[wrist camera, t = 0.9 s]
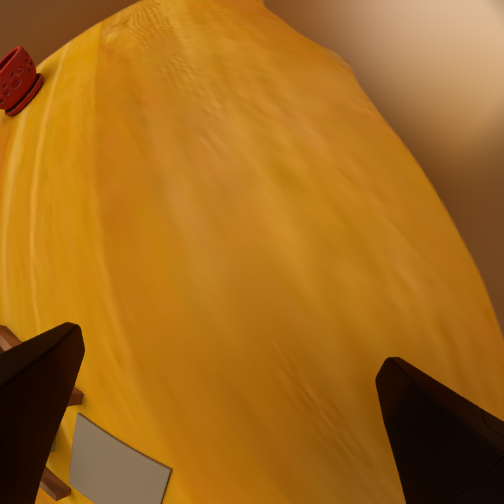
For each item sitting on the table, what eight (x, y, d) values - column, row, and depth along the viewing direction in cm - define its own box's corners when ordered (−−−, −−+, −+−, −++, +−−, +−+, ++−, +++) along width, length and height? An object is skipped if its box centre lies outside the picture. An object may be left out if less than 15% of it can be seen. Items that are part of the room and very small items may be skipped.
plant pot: (2, 119, 41) (-26, 92, 29) (38, 76, 43) (13, 46, 31) (14, 126, 37) (-21, 94, 26) (55, 76, 39) (27, 41, 28)
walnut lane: (83, 393, 20) (44, 398, 15) (70, 494, 17) (40, 507, 12) (5, 326, 23) (-26, 319, 19) (-4, 419, 20) (-31, 421, 15)
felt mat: (171, 468, 17) (170, 470, 17) (151, 534, 15) (150, 536, 14) (79, 412, 19) (77, 412, 19) (70, 482, 17) (68, 483, 17)
